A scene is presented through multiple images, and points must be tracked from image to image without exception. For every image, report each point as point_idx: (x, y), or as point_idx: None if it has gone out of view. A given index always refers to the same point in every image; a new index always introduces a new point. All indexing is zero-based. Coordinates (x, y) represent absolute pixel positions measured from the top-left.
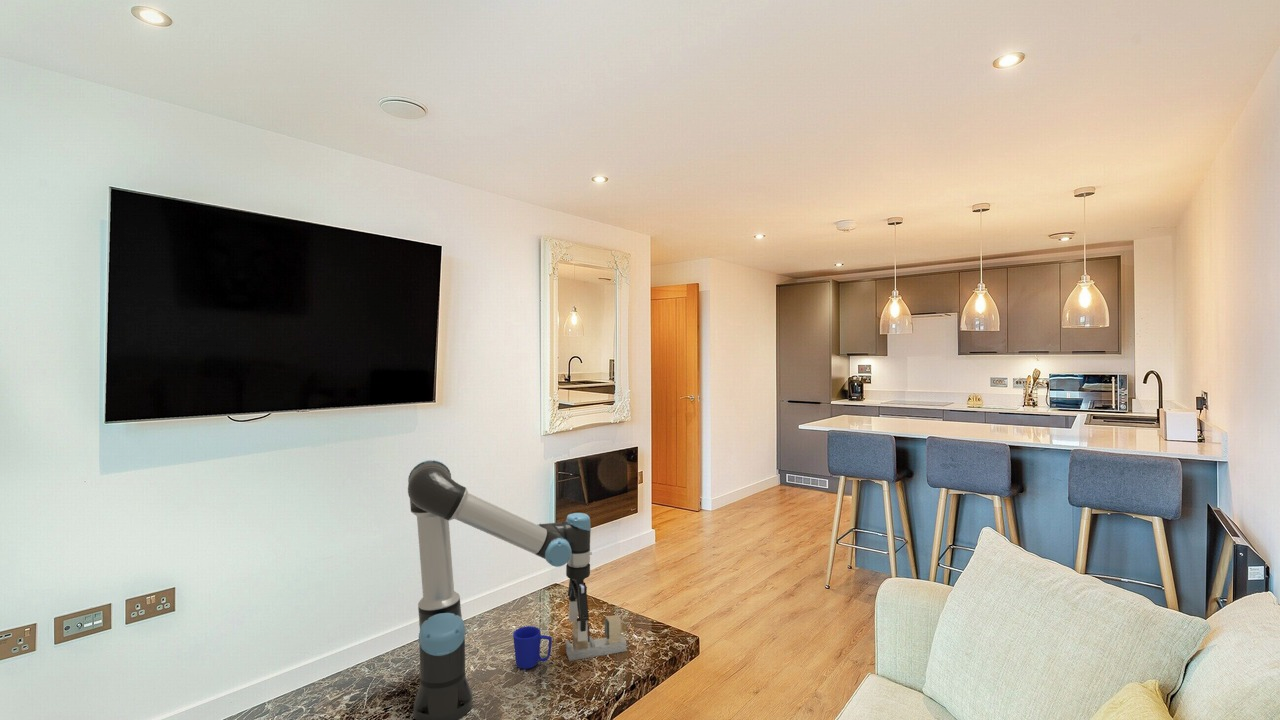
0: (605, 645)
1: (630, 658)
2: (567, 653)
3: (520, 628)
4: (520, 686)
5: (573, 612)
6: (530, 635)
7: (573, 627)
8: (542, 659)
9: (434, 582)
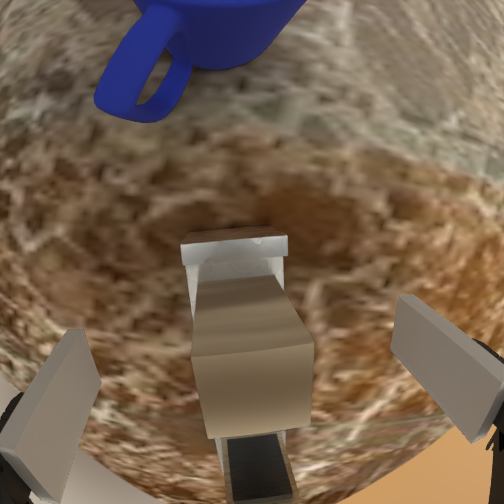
0: None
1: (167, 448)
2: (242, 230)
3: None
4: (52, 18)
5: (431, 359)
6: None
7: (272, 329)
8: (167, 83)
9: None
